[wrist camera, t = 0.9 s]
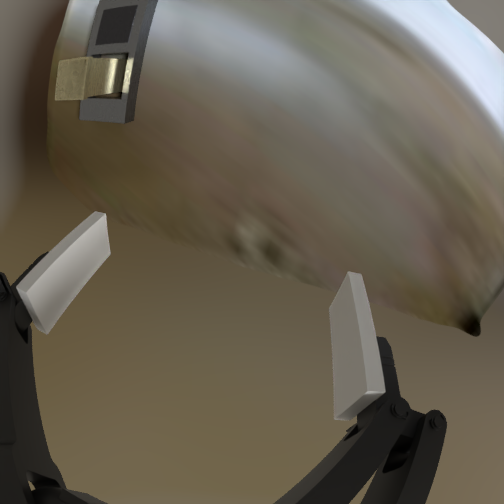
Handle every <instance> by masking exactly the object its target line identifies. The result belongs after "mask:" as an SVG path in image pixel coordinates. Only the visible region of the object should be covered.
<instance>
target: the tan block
mask: <svg viewBox="0 0 504 504" xmlns="http://www.w3.org/2000/svg"><path fill="white" fill-rule="evenodd" d="M127 60H128V59H111V58H93V57H81V58H74V59H67V60H61V61H59V66H58V73H57V82H56V92H55V100H85V99H87V98H88V97H91V96H96V95H102V94H109V93H116V92H122V91H123V84H124V78H125V72H126V66H127Z"/></svg>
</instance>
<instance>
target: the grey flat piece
mask: <svg viewBox="0 0 504 504" xmlns="http://www.w3.org/2000/svg"><path fill="white" fill-rule="evenodd" d="M157 2H158V0H100V1H99V5H98V8H97V12H96V15H95V19H94V23H93V27H92V32H91V36H90V41H89V46H88V51H87V56H86V57H93V58H101V55H107V54H126V53H129V55H128V60H127V66H126V72H125V78H124V84H123V91H122V97H97V96H91V97H88V98H87V99H85V100H81V102H80V116H79V120H90V121H103V122H115V123H124V124H125V123H128V122H131V121H134V112H135V104H136V97H137V90H138V84H139V78H140V72H141V67H142V62H143V57H144V52H145V47H146V43H147V39H148V34H149V30H150V26H151V23H152V19H153V15H154V12H155V8H156V5H157Z"/></svg>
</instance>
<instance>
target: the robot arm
mask: <svg viewBox="0 0 504 504" xmlns="http://www.w3.org/2000/svg"><path fill="white" fill-rule="evenodd" d="M109 255H110V247H109V239H108V231H107V222H106V214H105V213H100V212H96V211H95V212H94V213H93V214H92V215H90V216H89V217H88V218H87V219H86V220H85V221H83V222H82V223H81V224H80V225H79V226H77V227H76V228H75V229H74V230H73V231H72V232H71V233H69V234H68V235H67V236H66V237H65V238H64V239H63V240H62V241H61V242H60V243H58V244H57V245H56V246H55V248H53V249H52V250H51V251H50V252H46V253H45V254H43V255H41V256H40V257H38V258H37V259H36V260H35V261H34V263H33V264H31V265H30V266H29V268H28V269H27V270H26V271H25V272H24V273H23V274H22V275H21V276H20V277H19V278H18V279H17V280H16V281H15V282H14V283H13V284H12V285H11V286H10V285H9V282H8V280H7V278H6V276H5V274H4V273H2V272H0V504H107V503H105V502H103V501H101V500H99V499H97V498H95V497H93V496H91V495H89V494H87V493H82V492H77V491H72V490H68V489H67V488H66V486H65V483H64V481H63V478H62V475H61V473H60V471H59V469H58V467H57V466H56V465H55V463H54V462H53V461H52V459H51V456H50V453H49V450H48V446H47V442H46V438H45V434H44V430H43V426H42V421H41V416H40V411H39V406H38V399H37V393H36V385H35V377H34V367H33V354H32V330H31V326H30V323H31V322H32V321H33V322H34V324H35V326H36V327H37V329H38V330H40V331H42V332H43V333H45V334H48V333H49V331H50V330H51V329H52V327H53V326H54V324H55V323H56V322H57V320H58V319H59V317H60V316H61V315H62V313H63V312H64V311H65V309H66V308H67V307H68V305H69V304H70V303H71V301H72V300H73V299H74V298H75V296H76V295H77V294H78V292H79V291H80V290H81V289H82V287H83V286H84V285H85V284H86V282H87V281H88V280H89V279H90V277H91V276H92V275H93V274H94V273H95V271H96V270H97V269H98V268H99V267H100V266H101V264H102V263H103V262H104V261H105V260H106V259H107V257H108V256H109ZM329 313H330V314H329V315H330V326H331V342H332V359H333V382H334V383H333V385H334V420H351V419H353V418H354V417H355V416H356V415H357V423H356V424H355V425H353V426H352V427H350V428H349V429H348V430H346V431H347V432H348V433H347V434H346V435H345V437H344V438H343V439H342V440H341V441H340V442H339V443H338V444H337V445H336V446H335V447H334V449H333V450H332V451H331V452H330V453H329V454H328V455H327V456H326V457H325V458H324V459H323V460H322V461H321V462H320V463H319V464H318V465H317V466H316V467H315V468H314V469H313V470H312V471H311V472H310V473H309V474H308V475H306V476H305V477H304V478H303V479H302V480H301V481H300V482H299V483H298V484H297V485H295V486H294V487H293V488H292V489H291V490H290V491H288V492H287V493H286V494H285V495H284V496H282V497H281V498H280V499H279V500H277V501H276V502H275V503H274V504H349V503H350V501H351V500H352V499H353V498H354V497H355V496H356V495H357V493H358V492H359V491H360V490H361V489H362V488H363V486H364V485H365V484H366V483H367V481H368V480H369V479H370V478H371V476H372V475H373V474H374V472H375V471H376V470H377V471H376V474H375V476H374V478H373V480H372V482H371V484H370V486H369V488H368V490H367V492H366V494H365V496H364V498H363V500H362V502H361V504H425V503H426V500H427V497H428V494H429V492H430V489H431V486H432V483H433V480H434V477H435V473H436V470H437V467H438V463H439V459H440V455H441V451H442V447H443V443H444V438H445V433H446V428H447V422H446V418H445V416H444V415H443V414H442V413H441V412H440V411H439V410H431V411H429V412H428V413H427V414H422V413H420V412H417V411H414V410H412V409H411V408H410V406H409V404H408V402H407V401H406V400H405V399H403V398H402V397H401V396H400V391H399V385H398V380H397V374H396V369H395V367H394V365H395V364H394V360H393V354H392V350H391V346H390V345H389V343H388V341H387V340H386V338H384V337H377V336H376V333H375V329H374V324H373V320H372V315H371V310H370V306H369V302H368V298H367V294H366V290H365V286H364V282H363V278H362V274H358V273H354V272H349V271H348V273H347V275H346V277H345V279H344V281H343V283H342V285H341V287H340V289H339V291H338V293H337V295H336V296H335V298H334V300H333V302H332V304H331V306H330V308H329ZM377 468H378V469H377ZM28 481H30V482H32V484H33V485H34V487H35V490H33V491H31V489H30V486H29V483H28Z"/></svg>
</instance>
